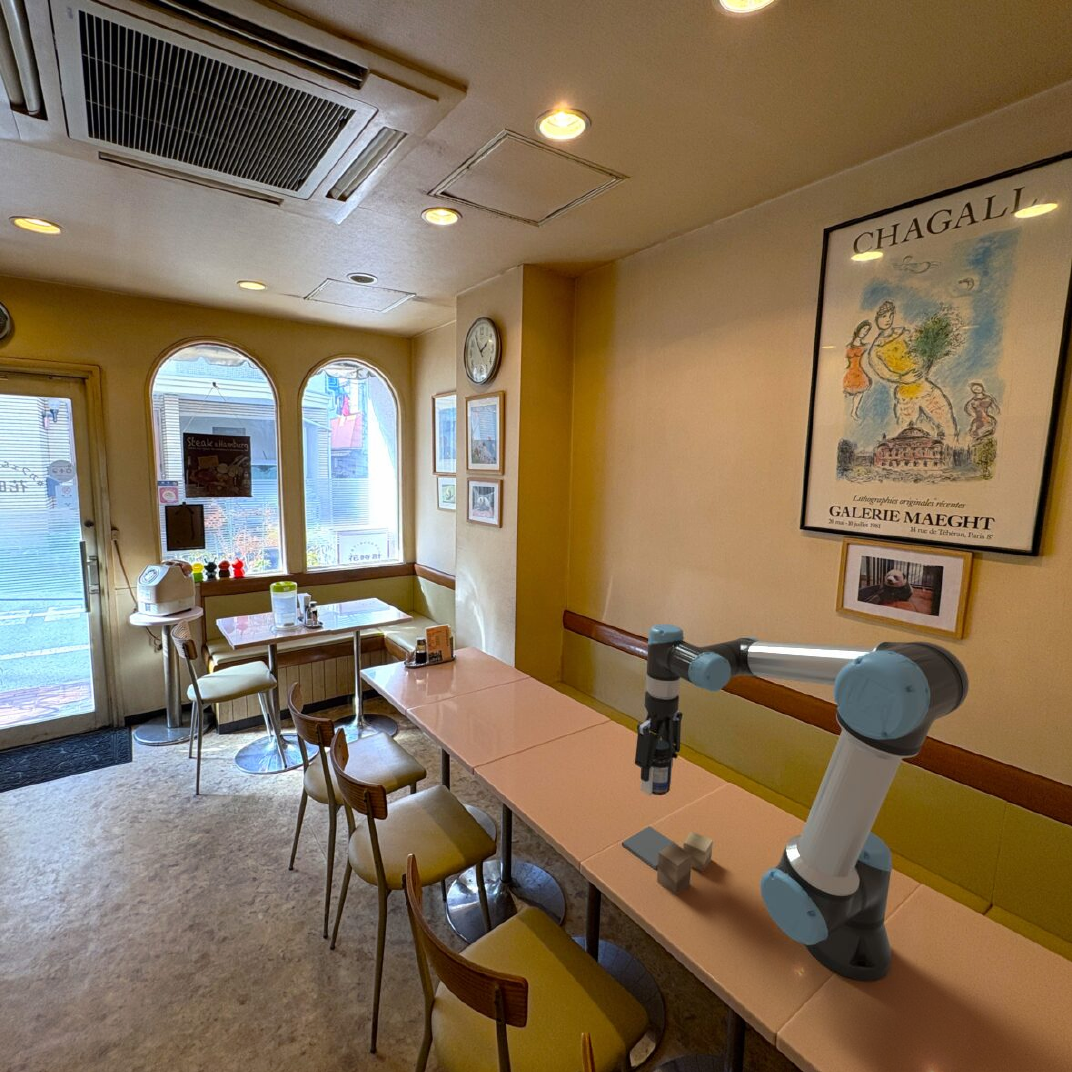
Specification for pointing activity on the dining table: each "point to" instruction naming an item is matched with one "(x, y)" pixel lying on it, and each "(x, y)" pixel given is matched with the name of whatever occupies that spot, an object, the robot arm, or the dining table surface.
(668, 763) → the pill bottle
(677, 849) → the walnut block
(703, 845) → the oak block
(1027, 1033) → the dining table surface
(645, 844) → the slate coaster
